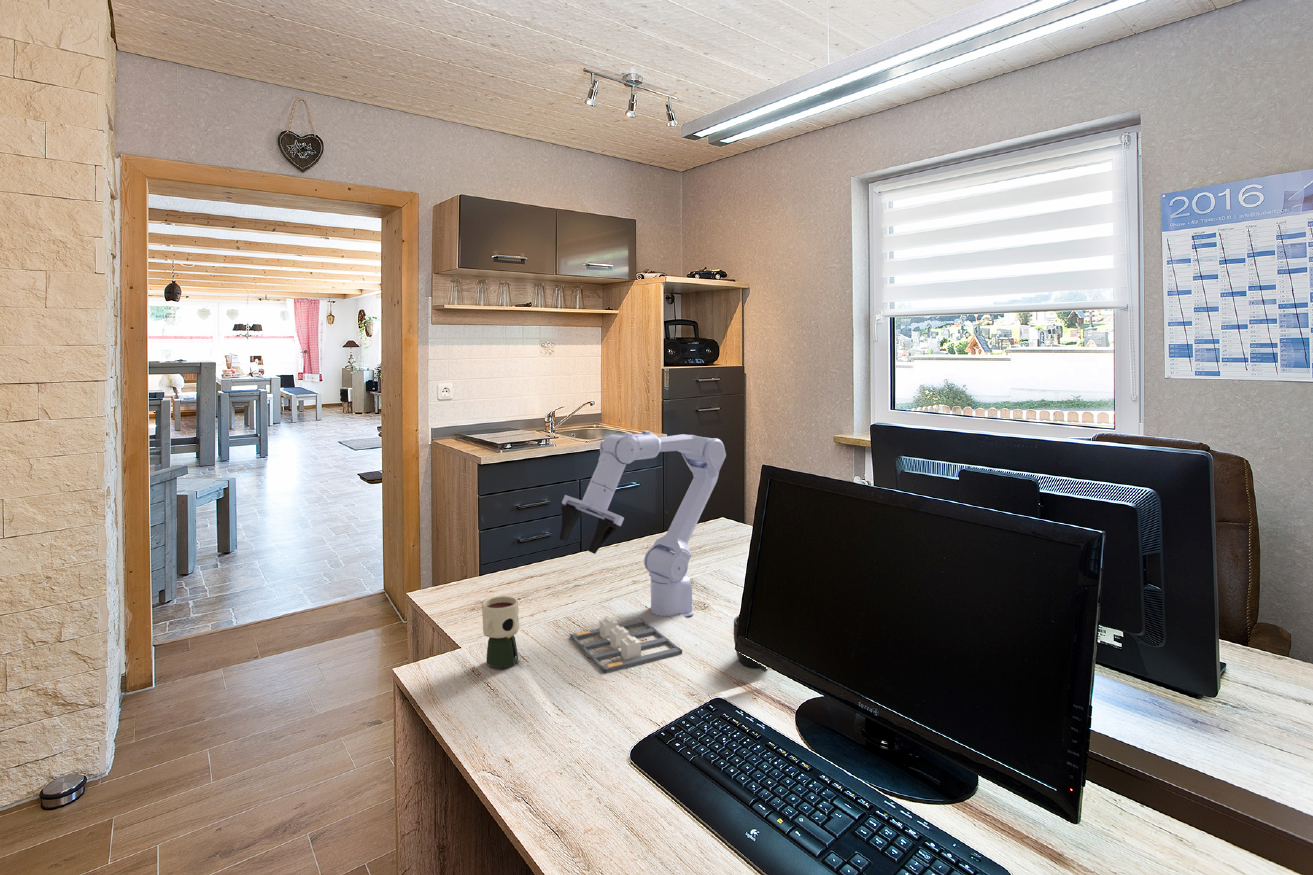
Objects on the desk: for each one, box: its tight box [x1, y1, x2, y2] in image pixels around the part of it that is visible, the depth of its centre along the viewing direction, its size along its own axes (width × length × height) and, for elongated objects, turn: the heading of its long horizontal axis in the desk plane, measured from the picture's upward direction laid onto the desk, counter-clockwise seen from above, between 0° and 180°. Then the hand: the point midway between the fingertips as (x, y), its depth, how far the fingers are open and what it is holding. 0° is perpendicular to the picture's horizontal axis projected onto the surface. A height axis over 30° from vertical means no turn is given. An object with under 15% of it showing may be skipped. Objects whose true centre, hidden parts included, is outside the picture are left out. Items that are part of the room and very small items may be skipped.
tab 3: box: [620, 635, 642, 660], centre depth 136 cm, size 3×3×4 cm
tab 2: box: [609, 625, 630, 649], centre depth 141 cm, size 3×3×4 cm
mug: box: [733, 615, 768, 672], centre depth 135 cm, size 8×12×10 cm
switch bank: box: [569, 618, 683, 674], centre depth 141 cm, size 17×18×2 cm
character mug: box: [481, 595, 520, 669], centre depth 135 cm, size 11×7×13 cm, turn 158°
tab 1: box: [598, 615, 619, 639], centre depth 145 cm, size 3×3×4 cm
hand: (577, 546), depth 142 cm, fingers open, 7 cm apart
